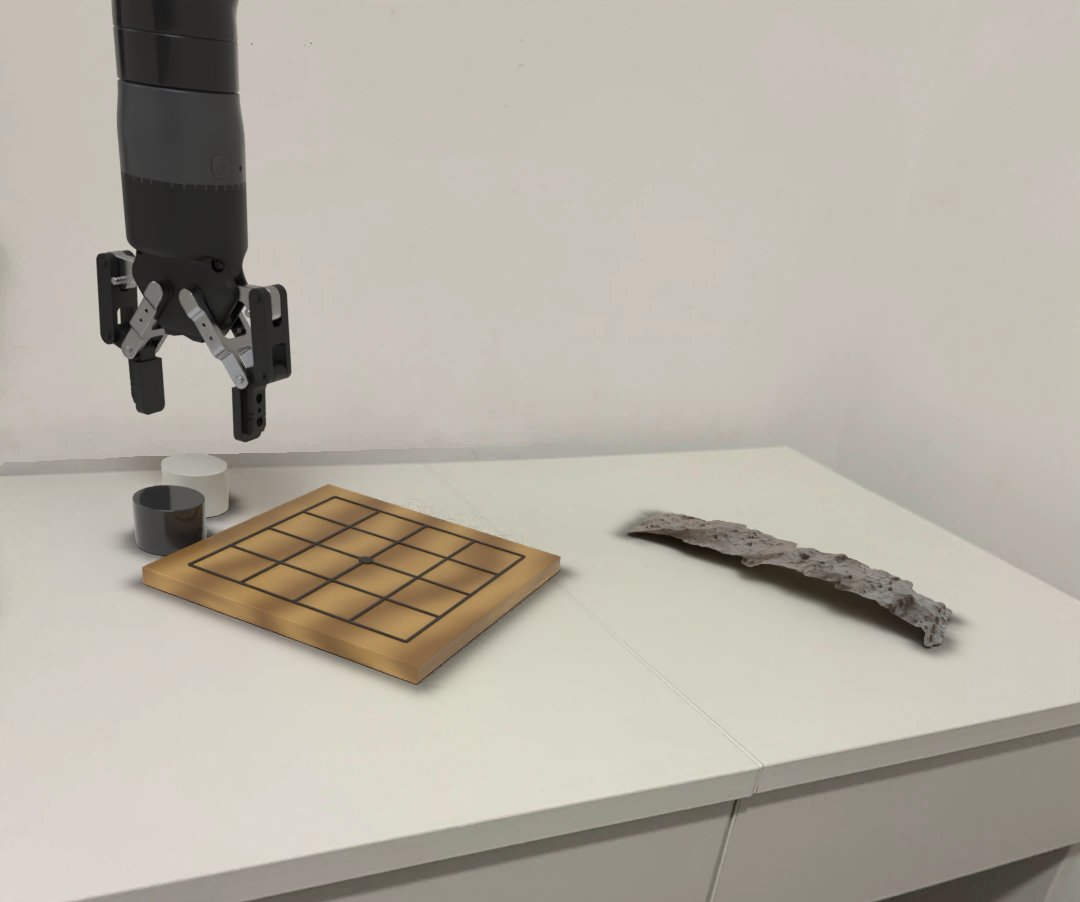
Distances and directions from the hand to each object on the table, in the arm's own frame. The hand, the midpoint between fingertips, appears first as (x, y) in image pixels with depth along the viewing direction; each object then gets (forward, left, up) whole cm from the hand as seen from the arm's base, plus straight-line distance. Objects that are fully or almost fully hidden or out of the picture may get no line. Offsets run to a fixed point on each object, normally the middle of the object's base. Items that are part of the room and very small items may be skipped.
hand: (198, 425), depth 75 cm
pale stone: (0, 0, -6) cm, 6 cm away
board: (+16, -2, -6) cm, 17 cm away
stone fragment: (+40, +19, -6) cm, 44 cm away
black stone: (+3, -6, -6) cm, 9 cm away
